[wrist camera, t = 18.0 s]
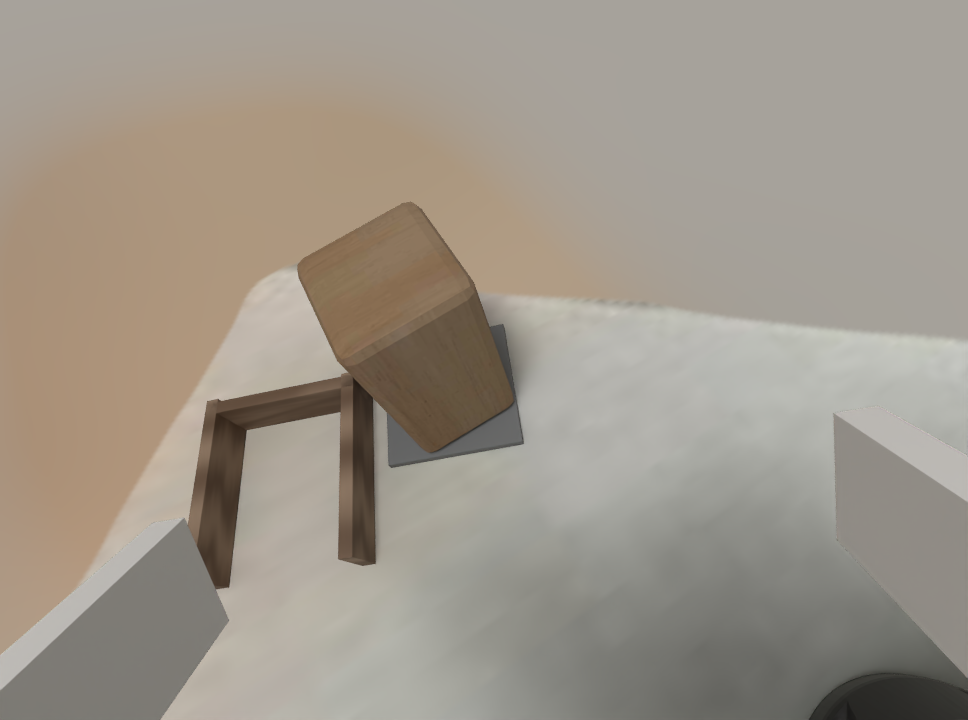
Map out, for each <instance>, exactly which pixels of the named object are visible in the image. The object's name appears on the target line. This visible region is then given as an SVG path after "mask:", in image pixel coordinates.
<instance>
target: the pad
mask: <svg viewBox="0 0 968 720" xmlns="http://www.w3.org/2000/svg"><path fill="white" fill-rule="evenodd" d="M490 330H491V333H492V336H493V339H494V342H495V345H496V347H497V350H498V353H499V356H500V359H501V362H502V365H503V367H504V370H505V373H506V376H507V379H508V382H509V385H510V387H511V390H512V393H513V399H514V401H513V403H512V404H511V405H510V406H509V407H508V408H506V409H505V410H503V411H501V412H500V413H498V414H496V415H495V416H493V417H491V418H490V419H488V420H487V421H485V422H483V423H482V424H480V425H478V426H477V427H475V428H473V429H472V430H470V431H468V432H467V433H465V434H463V435H462V436H460V437H458V438H457V439H455V440H453V441H452V442H450V443H448V444H447V445H445V446H444V447H442V448H440V449H439V450H437V451H434V452H430V453H427V452H426V451H425V450H423V449H422V448H421V447H420V446H419V445H418V444H417V443H416V442H415V441H414V440H413V439H412V438H411V437H410V436H409V435H408V434H407V433H406V432H405V430H404V429H403V428H402V427H401V426H400V425H399V424H398V423H397V422H396V421H395V420H394V419H393V418H392V417H391V416H390V415H389V414H388V413H387V429H388V461H389V466H390V467H391V468H393V467H399V466H404V465H410V464H415V463H421V462H427V461H432V460H438V459H443V458H449V457H454V456H460V455H465V454H471V453H476V452H482V451H488V450H493V449H499V448H504V447H510V446H515V445H521V444H523V438H522V432H521V426H520V420H519V414H518V408H517V402H516V396H515V390H514V384H513V378H512V372H511V366H510V360H509V354H508V348H507V342H506V336H505V330H504V326H503V324H502V325H497V326H492V327H490Z"/></svg>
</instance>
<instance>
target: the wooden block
mask: <svg viewBox="0 0 968 720" xmlns="http://www.w3.org/2000/svg"><path fill="white" fill-rule="evenodd" d="M297 270H298V276H299V279H300V282H301V284H302V286H303V288H304V290H305V292H306V294H307V297H308V299H309V301H310V303H311V305H312V307H313V310H314V312H315V314H316V316H317V318H318V320H319V322H320V325H321V327H322V329H323V331H324V333H325V335H326V338H327V340H328V342H329V344H330V346H331V348H332V350H333V353H334V355H335V357H336V359H337V361H338V362H339V363H340V364H341V365H342V366H343V367H344V368H345V369H346V370H347V371H348V372H349V373H350V375H351V376H352V377H353V378H354V379H355V380H356V381H357V382H358V383H359V384H360V385H361V386H362V387H363V388H364V389H365V390H366V391H367V392H368V393H369V394H370V395H371V396H372V397H373V398H374V399H375V400H376V401H377V403H378V404H379V405H380V406H381V407H382V408H383V409H384V410H385V411H386V412H387V413H388V414H389V415H390V416H391V417H392V418H393V419H394V420H395V421H396V422H397V423H398V424H399V425H400V426H401V427H402V428H403V429H404V430H405V432H406V433H407V434H408V435H409V436H410V437H411V438H412V439H413V440H414V441H415V442H416V443H417V444H418V445H419V446H420V447H421V448H422V449H423V450H425V451H426V452H427V453H430V452H434V451H437V450H439V449H440V448H442V447H444V446H445V445H447V444H448V443H450V442H452V441H453V440H455V439H457V438H458V437H460V436H462V435H463V434H465V433H467V432H468V431H470V430H472V429H473V428H475V427H477V426H478V425H480V424H482V423H483V422H485V421H487V420H488V419H490V418H491V417H493V416H495V415H496V414H498V413H500V412H501V411H503V410H505V409H506V408H508V407H509V406H510V405H511V404H512V403H513V401H514V399H513V393H512V390H511V387H510V385H509V382H508V379H507V376H506V373H505V370H504V367H503V365H502V362H501V359H500V356H499V353H498V350H497V347H496V345H495V342H494V339H493V336H492V333H491V330H490V327H489V324H488V322H487V319H486V316H485V313H484V310H483V307H482V304H481V302H480V299H479V296H478V293H477V290H476V287H475V284H474V282H473V280H472V279H471V278H470V276H469V275H468V273H467V272H466V271H465V269H464V268H463V267H462V265H461V264H460V262H459V261H458V260H457V258H456V257H455V255H454V254H453V252H452V251H451V250H450V248H449V247H448V245H447V244H446V243H445V241H444V240H443V238H442V237H441V236H440V234H439V233H438V232H437V230H436V229H435V227H434V226H433V225H432V223H431V222H430V220H429V219H428V218H427V216H426V215H425V213H424V212H423V211H422V209H420V208H419V207H418V206H417V205H415V204H414V203H412V202H407V203H402V204H401V205H399V206H397V207H395V208H393V209H391V210H390V211H388V212H386V213H384V214H382V215H381V216H379V217H377V218H375V219H373V220H372V221H370V222H368V223H366V224H365V225H363V226H361V227H359V228H357V229H355V230H354V231H352V232H350V233H348V234H346V235H345V236H343V237H341V238H339V239H337V240H336V241H334V242H332V243H330V244H328V245H327V246H325V247H323V248H321V249H320V250H318V251H316V252H314V253H312V254H310V255H309V256H307V257H305V258H303V259H302V260H301V262H300V263H299V264H298V269H297Z"/></svg>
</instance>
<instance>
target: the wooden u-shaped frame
mask: <svg viewBox="0 0 968 720" xmlns="http://www.w3.org/2000/svg"><path fill="white" fill-rule="evenodd" d="M336 412H341V419H340V481H339V542H338V559H339V560H343V561H346V562H350V563H354V564H358V565H362V566H364V565H371V564H375V510H374V450H373V397H372V396H371V395H370V394H369V393H368V392H367V391H366V390H365V389H364V388H363V387H362V386H361V385H360V384H359V383H358V382H357V381H356V380H355V379H354V378H353V377H352V376H351V375H350V373H344V374H341V377H338V378H333V379H328V380H323V381H318V382H313V383H308V384H303V385H298V386H293V387H289V388H284V389H279V390H274V391H269V392H264V393H259V394H254V395H249V396H244V397H239V398H234V399H229V400H225V401H220V400H219V399H216V400H211V401H207V405H206V412H205V418H204V425H203V431H202V437H201V444H200V450H199V457H198V463H197V470H196V476H195V482H194V489H193V495H192V502H191V508H190V515H189V521H188V527H189V529H190V532H191V534H192V536H193V539H194V541H195V543H196V546H197V548H198V550H199V552H200V555H201V557H202V559H203V562H204V564H205V566H206V568H207V571H208V573H209V575H210V578H211V580H212V582H213V585H214V587H215V589H220V588H227V587H229V581H230V572H231V563H232V554H233V545H234V536H235V527H236V518H237V509H238V500H239V491H240V482H241V473H242V464H243V455H244V447H245V438H246V430H249V429H254V428H259V427H265V426H270V425H275V424H280V423H285V422H290V421H295V420H300V419H306V418H311V417H316V416H321V415H326V414H331V413H336Z"/></svg>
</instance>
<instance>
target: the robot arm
mask: <svg viewBox="0 0 968 720" xmlns="http://www.w3.org/2000/svg"><path fill="white" fill-rule="evenodd" d="M833 414H834V452H835V491H836V530H837V541H838V542H839V543H840V544H841V545H842V546H843V547H844V548H845V549H846V550H847V551H848V552H849V553H850V555H851V556H852V557H853V558H854V559H855V560H856V561H857V562H858V563H859V564H860V565H861V566H862V567H863V568H864V569H865V570H866V571H867V572H868V574H869V575H870V576H871V577H872V578H873V579H874V580H875V581H876V582H877V583H878V584H879V585H880V586H881V587H882V588H883V589H884V590H885V592H886V593H887V594H888V595H889V596H890V597H891V598H892V599H893V600H894V601H895V602H896V603H897V604H898V605H899V606H900V607H901V608H902V609H903V611H904V612H905V613H906V614H907V615H908V616H909V617H910V618H911V619H912V620H913V621H914V622H915V623H916V624H917V625H918V626H919V627H920V628H921V630H922V631H923V632H924V633H925V634H926V635H927V636H928V637H929V638H930V639H931V640H932V641H933V642H934V643H935V644H936V645H937V646H938V648H939V649H940V650H941V651H942V652H943V653H944V654H945V655H946V656H947V657H948V658H949V659H950V660H951V661H952V662H953V663H954V664H955V665H956V667H957V668H958V669H959V670H960V671H961V672H962V673H963V674H964V675H965V676H966V677H967V678H968V456H967V455H965V454H964V453H962V452H960V451H958V450H956V449H955V448H953V447H951V446H949V445H948V444H946V443H944V442H942V441H940V440H939V439H937V438H935V437H933V436H931V435H930V434H928V433H926V432H924V431H923V430H921V429H919V428H917V427H915V426H914V425H912V424H910V423H908V422H907V421H905V420H903V419H901V418H899V417H898V416H896V415H894V414H892V413H891V412H889V411H887V410H885V409H883V408H882V407H880V406H873V407H867V408H861V409H855V410H848V411H842V412H836V413H833ZM228 621H229V619H228V617H227V614H226V612H225V610H224V608H223V605H222V603H221V601H220V598H219V596H218V594H217V591H216V589H215V587H214V585H213V582H212V580H211V578H210V575H209V573H208V571H207V568H206V566H205V564H204V562H203V559H202V557H201V555H200V552H199V550H198V548H197V546H196V543H195V541H194V539H193V536H192V534H191V532H190V529H189V527H188V525H187V523H186V520H185V518H179V519H173V520H166V521H160V522H154V523H152V524H150V525H149V526H148V527H147V528H146V529H145V530H143V531H142V532H141V533H140V534H139V535H138V536H137V537H135V538H134V539H133V540H132V541H131V542H130V543H129V544H127V545H126V546H125V547H124V548H123V549H122V550H121V551H119V552H118V553H117V554H116V555H115V556H114V557H112V558H111V559H110V560H109V561H108V562H107V563H106V564H104V565H103V566H102V567H101V568H100V569H99V570H98V571H96V572H95V573H94V574H93V575H92V576H91V577H90V578H88V579H87V580H86V581H85V582H84V583H83V584H81V585H80V586H79V587H78V588H77V589H76V590H75V591H73V592H72V593H71V594H70V595H69V596H68V597H67V598H65V599H64V600H63V601H62V602H61V603H60V604H59V605H57V606H56V607H55V608H54V609H53V610H52V611H50V612H49V613H48V614H47V615H46V616H45V617H44V618H43V619H41V620H40V621H39V622H38V623H37V624H36V625H34V626H33V627H32V628H31V629H30V630H29V631H28V632H26V633H25V634H24V635H23V636H22V637H21V638H20V639H18V640H17V641H16V642H15V643H14V644H13V645H11V647H9V648H8V649H7V650H6V651H5V652H4V653H2V654H1V655H0V720H160V719H161V718H162V716H163V715H164V713H165V712H166V711H167V709H168V708H169V706H170V705H171V703H172V702H173V700H174V699H175V698H176V696H177V695H178V693H179V692H180V690H181V689H182V688H183V686H184V685H185V683H186V682H187V680H188V679H189V677H190V676H191V675H192V673H193V672H194V670H195V669H196V667H197V666H198V664H199V663H200V662H201V660H202V659H203V657H204V656H205V654H206V653H207V652H208V650H209V649H210V647H211V646H212V644H213V643H214V641H215V640H216V639H217V637H218V636H219V634H220V633H221V631H222V630H223V629H224V627H225V626H226V624H227V623H228ZM810 720H968V691H966V690H963V689H961V688H959V687H956V686H953V685H950V684H948V683H944V682H941V681H937V680H933V679H928V678H923V677H916V676H910V675H904V674H874V675H868V676H864V677H860V678H857V679H854V680H852V681H849V682H847V683H845V684H843V685H842V686H840V687H838V688H837V689H835V690H834V691H833V692H831V693H830V694H829V695H828V696H827V697H826V698H825V699H824V700H823V701H822V702H821V703H820V705H819V706H818V707H817V709H816V710H815V712H814V713H813V715H812V717H811V719H810Z"/></svg>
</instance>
